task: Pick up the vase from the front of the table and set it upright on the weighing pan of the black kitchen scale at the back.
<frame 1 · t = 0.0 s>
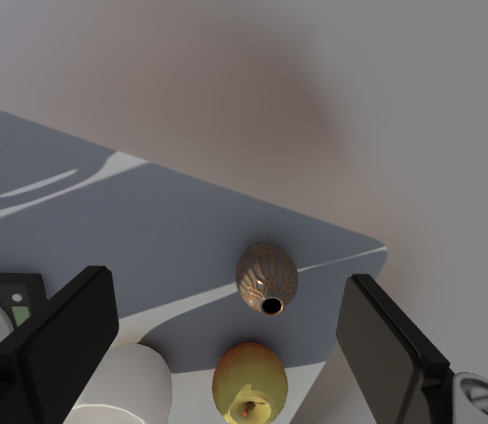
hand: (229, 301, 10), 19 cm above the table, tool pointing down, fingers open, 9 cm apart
apple: (248, 355, 36), on the table
cup 2: (139, 358, 35), on the table
vase: (263, 258, 31), on the table
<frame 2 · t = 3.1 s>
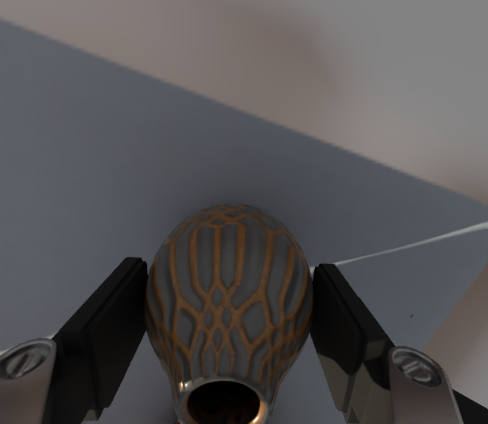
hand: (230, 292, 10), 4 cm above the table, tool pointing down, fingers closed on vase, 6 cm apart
vase: (233, 246, 14), on the table, touching gripper
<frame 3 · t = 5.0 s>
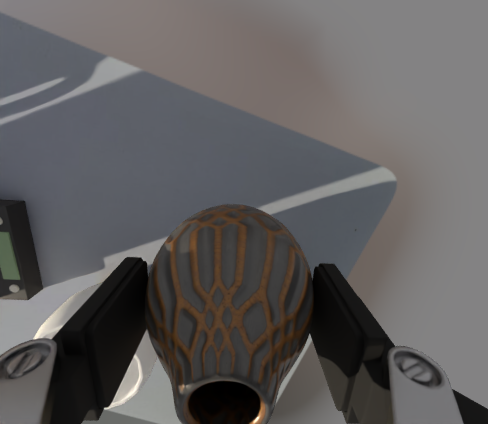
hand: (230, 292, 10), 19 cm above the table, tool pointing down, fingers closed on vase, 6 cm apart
cup 2: (129, 303, 33), on the table
vase: (233, 246, 14), point 15 cm above the table, touching gripper
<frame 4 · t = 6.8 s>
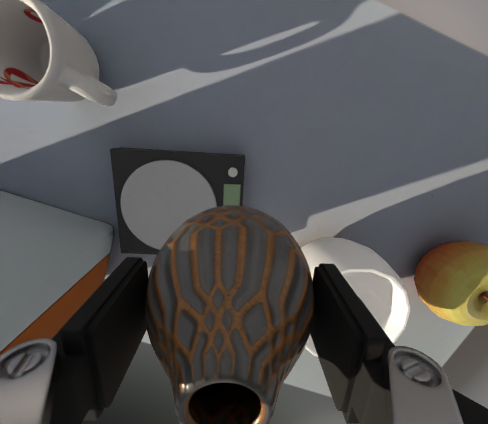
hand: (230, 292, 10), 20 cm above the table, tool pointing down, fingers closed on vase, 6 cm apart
alarm clock: (40, 232, 31), on the table
scale: (184, 202, 29), on the table
apple: (437, 264, 33), on the table
cup: (86, 76, 25), on the table
cup 2: (319, 265, 33), on the table
vase: (233, 247, 14), point 15 cm above the table, touching gripper
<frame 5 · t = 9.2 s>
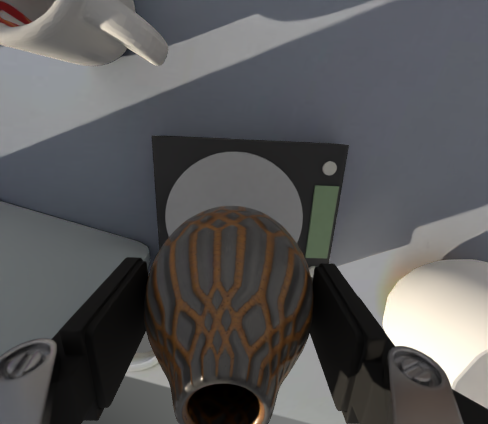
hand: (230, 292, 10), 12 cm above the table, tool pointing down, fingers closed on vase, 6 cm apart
alarm clock: (49, 254, 22), on the table
scale: (246, 211, 21), on the table
cup: (114, 29, 17), on the table
cup 2: (421, 293, 24), on the table
vase: (233, 247, 14), point 7 cm above the table, touching gripper
when the fingers open (7 cm above the table, at t = 10.8 s): vase stays where it is, resting on scale.
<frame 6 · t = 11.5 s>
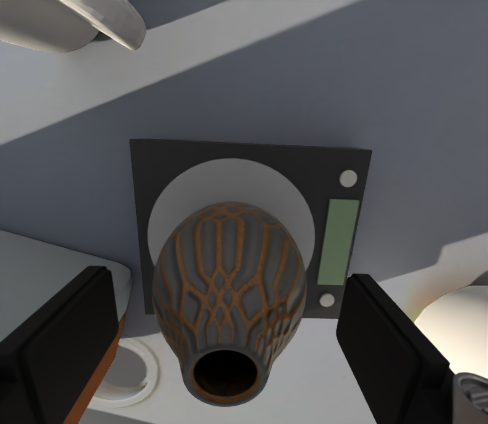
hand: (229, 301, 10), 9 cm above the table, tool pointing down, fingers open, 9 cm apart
alarm clock: (15, 277, 19), on the table
scale: (246, 227, 18), on the table
cup: (83, 8, 14), on the table
cup 2: (448, 319, 21), on the table
vase: (232, 242, 15), point 3 cm above the table, touching scale
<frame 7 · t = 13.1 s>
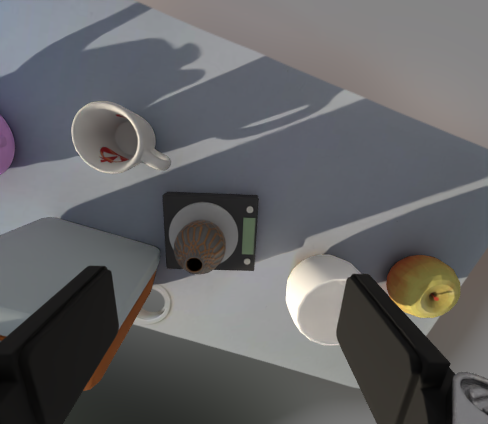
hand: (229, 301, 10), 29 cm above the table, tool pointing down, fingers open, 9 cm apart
alarm clock: (103, 253, 40), on the table
scale: (212, 229, 40), on the table
apple: (404, 272, 43), on the table
cup: (144, 143, 36), on the table
cup 2: (314, 274, 43), on the table
vase: (204, 235, 37), point 3 cm above the table, touching scale
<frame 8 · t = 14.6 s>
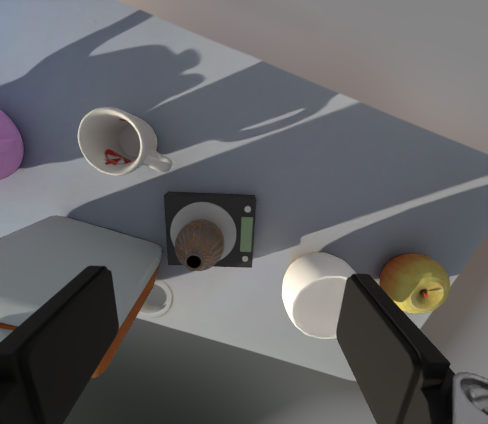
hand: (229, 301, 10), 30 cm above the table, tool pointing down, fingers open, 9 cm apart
alarm clock: (108, 250, 42), on the table
scale: (211, 227, 41), on the table
apple: (397, 269, 44), on the table
cup: (146, 145, 37), on the table
cup 2: (310, 271, 44), on the table
vase: (203, 233, 38), point 3 cm above the table, touching scale
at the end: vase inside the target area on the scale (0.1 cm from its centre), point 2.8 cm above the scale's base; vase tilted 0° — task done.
